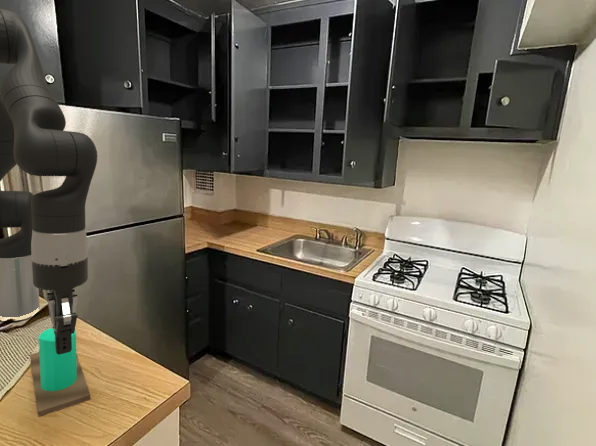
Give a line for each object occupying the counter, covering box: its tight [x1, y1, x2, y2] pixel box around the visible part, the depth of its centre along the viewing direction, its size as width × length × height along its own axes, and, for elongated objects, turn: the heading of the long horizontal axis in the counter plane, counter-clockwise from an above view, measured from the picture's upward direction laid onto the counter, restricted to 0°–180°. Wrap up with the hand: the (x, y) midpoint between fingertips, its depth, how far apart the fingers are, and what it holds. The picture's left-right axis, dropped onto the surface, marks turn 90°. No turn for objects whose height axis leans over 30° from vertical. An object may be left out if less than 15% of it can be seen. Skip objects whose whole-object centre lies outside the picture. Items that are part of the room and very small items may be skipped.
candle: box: [38, 326, 77, 391], centre depth 67 cm, size 6×6×12 cm
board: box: [29, 352, 91, 417], centre depth 70 cm, size 20×8×1 cm, turn 40°
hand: (63, 351), depth 59 cm, fingers closed
